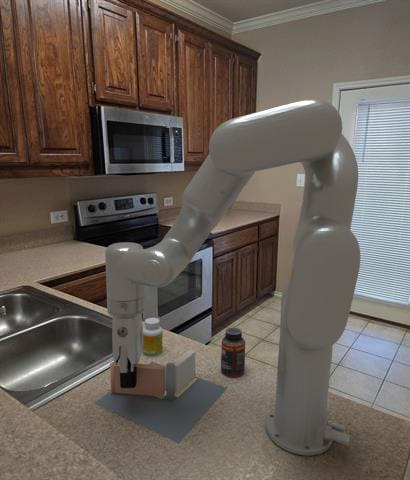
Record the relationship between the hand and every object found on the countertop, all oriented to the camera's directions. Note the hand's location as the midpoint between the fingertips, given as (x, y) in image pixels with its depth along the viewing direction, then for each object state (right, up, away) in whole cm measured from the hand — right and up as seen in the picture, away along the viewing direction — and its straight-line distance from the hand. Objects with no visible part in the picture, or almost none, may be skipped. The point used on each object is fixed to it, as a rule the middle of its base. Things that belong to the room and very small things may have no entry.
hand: (128, 385), depth 75 cm
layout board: (+7, -4, +4) cm, 9 cm away
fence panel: (+1, -3, +4) cm, 5 cm away
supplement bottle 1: (+2, -1, +23) cm, 23 cm away
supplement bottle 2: (+23, -3, +14) cm, 27 cm away
